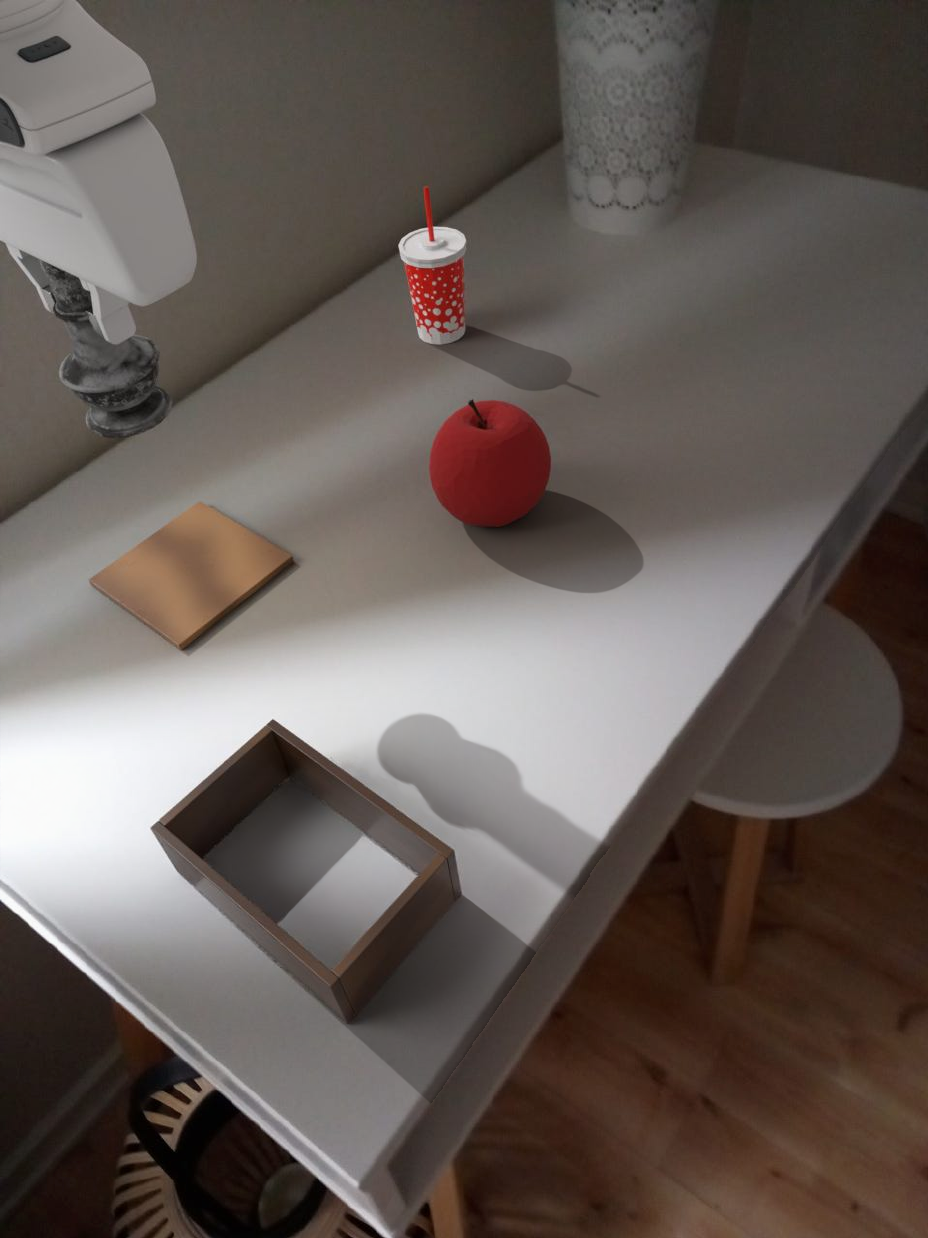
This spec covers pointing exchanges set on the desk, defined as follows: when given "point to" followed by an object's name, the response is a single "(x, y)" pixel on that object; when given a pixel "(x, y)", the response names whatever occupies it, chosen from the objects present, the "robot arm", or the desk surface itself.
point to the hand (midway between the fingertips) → (92, 323)
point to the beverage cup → (436, 279)
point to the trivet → (190, 573)
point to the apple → (489, 463)
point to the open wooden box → (283, 755)
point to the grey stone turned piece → (107, 367)
